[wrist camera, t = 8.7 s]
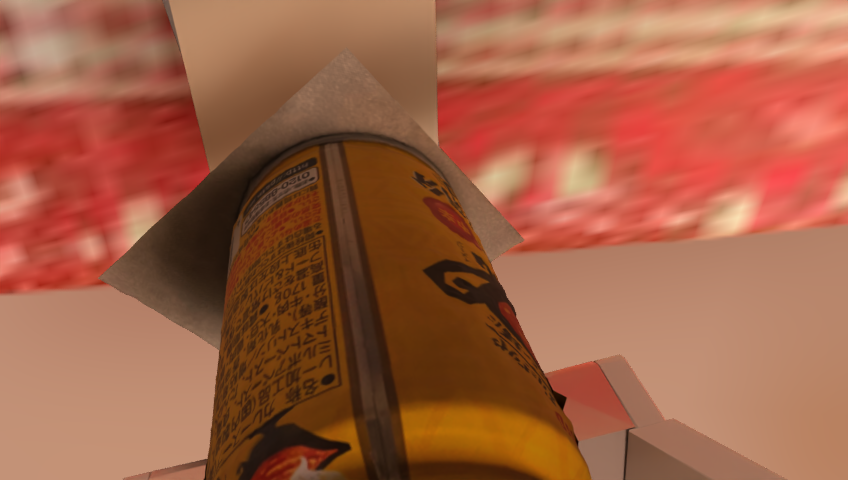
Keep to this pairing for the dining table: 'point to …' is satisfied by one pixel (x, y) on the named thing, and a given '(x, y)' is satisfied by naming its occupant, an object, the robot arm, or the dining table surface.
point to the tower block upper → (298, 57)
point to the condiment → (352, 303)
